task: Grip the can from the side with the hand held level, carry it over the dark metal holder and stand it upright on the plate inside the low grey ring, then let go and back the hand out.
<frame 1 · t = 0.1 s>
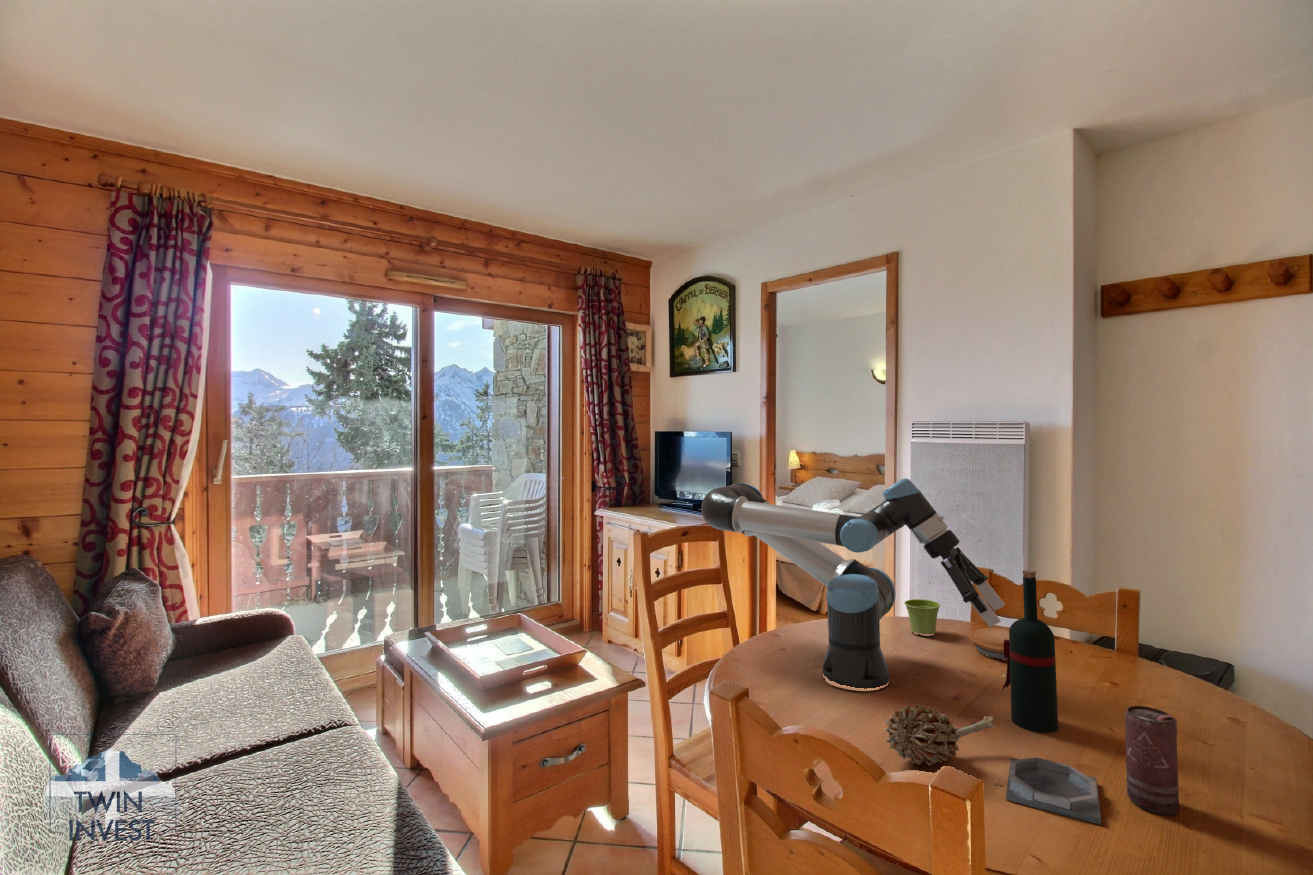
hand: (997, 615, 136), 15 cm above the table, tool tilted 35°, fingers open, 13 cm apart
wine bottle: (1028, 721, 119), on the table
plant pot: (923, 634, 170), on the table
cup holder: (1052, 791, 96), on the table
pine cone: (942, 758, 107), on the table
pie: (1002, 653, 154), on the table
can: (1153, 805, 92), on the table
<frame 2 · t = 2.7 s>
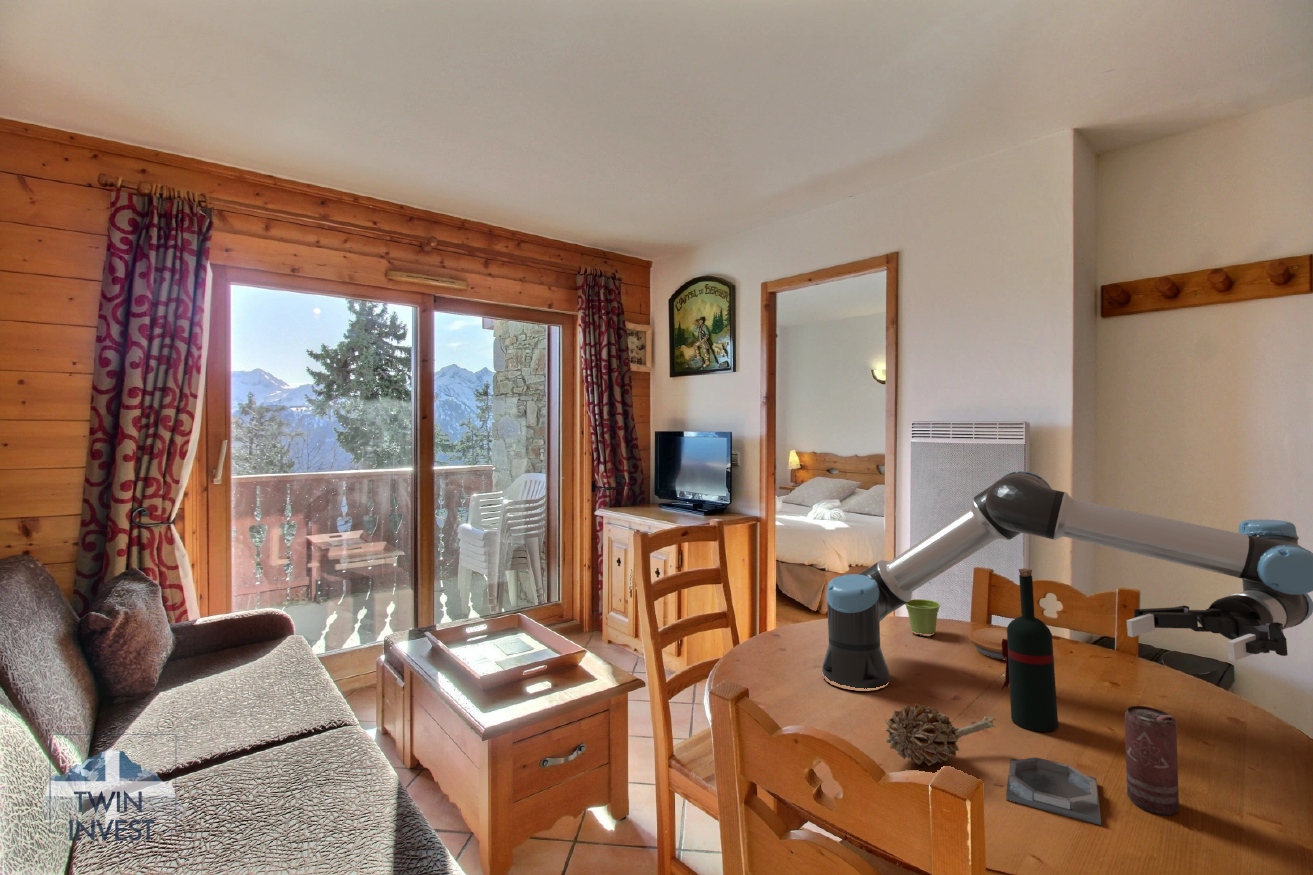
hand: (1176, 639, 96), 23 cm above the table, tool horizontal, fingers open, 13 cm apart
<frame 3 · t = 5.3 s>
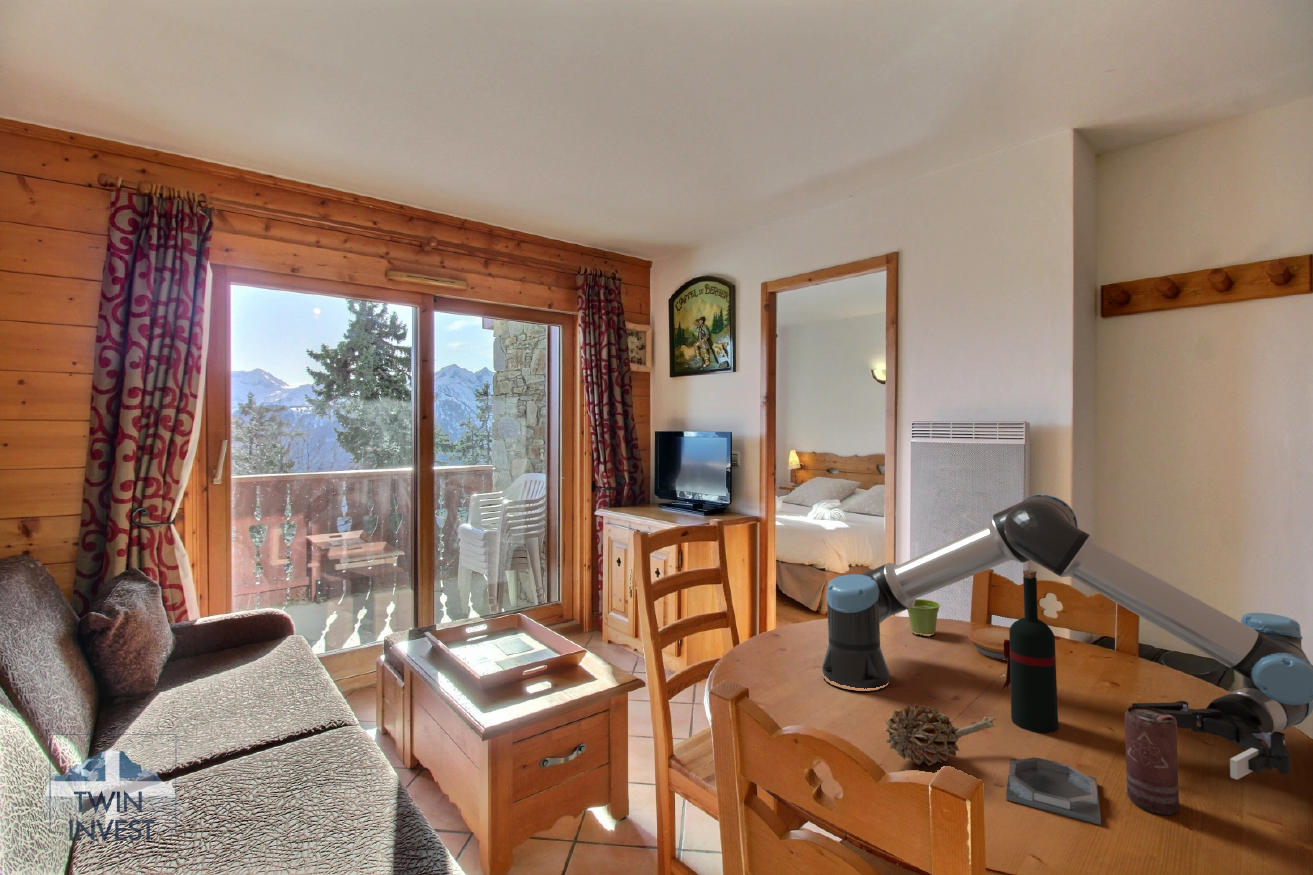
hand: (1177, 747, 94), 7 cm above the table, tool horizontal, fingers open, 13 cm apart
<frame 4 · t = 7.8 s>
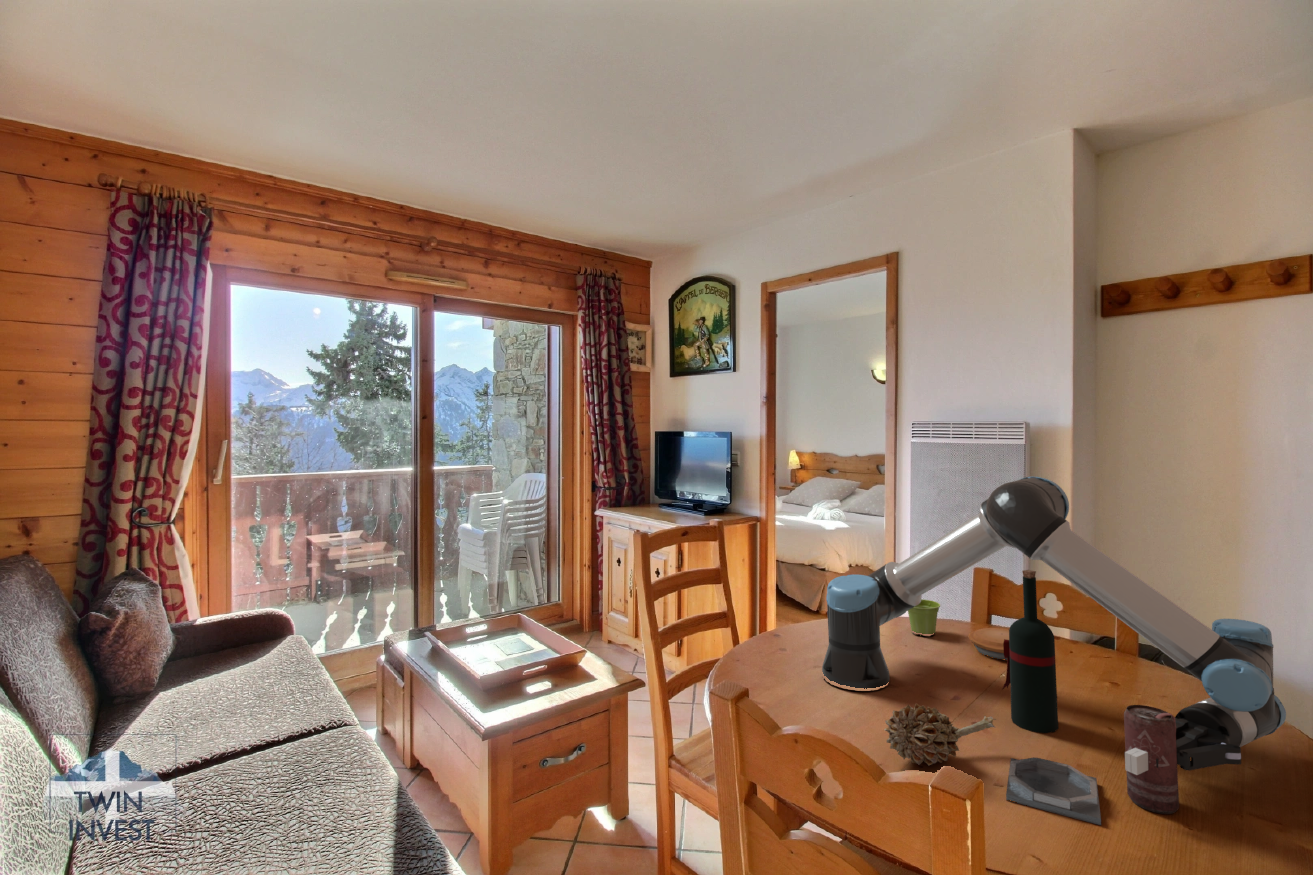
hand: (1130, 763, 90), 8 cm above the table, tool horizontal, fingers closed
can: (1154, 804, 92), on the table, touching gripper
everything else where it was.
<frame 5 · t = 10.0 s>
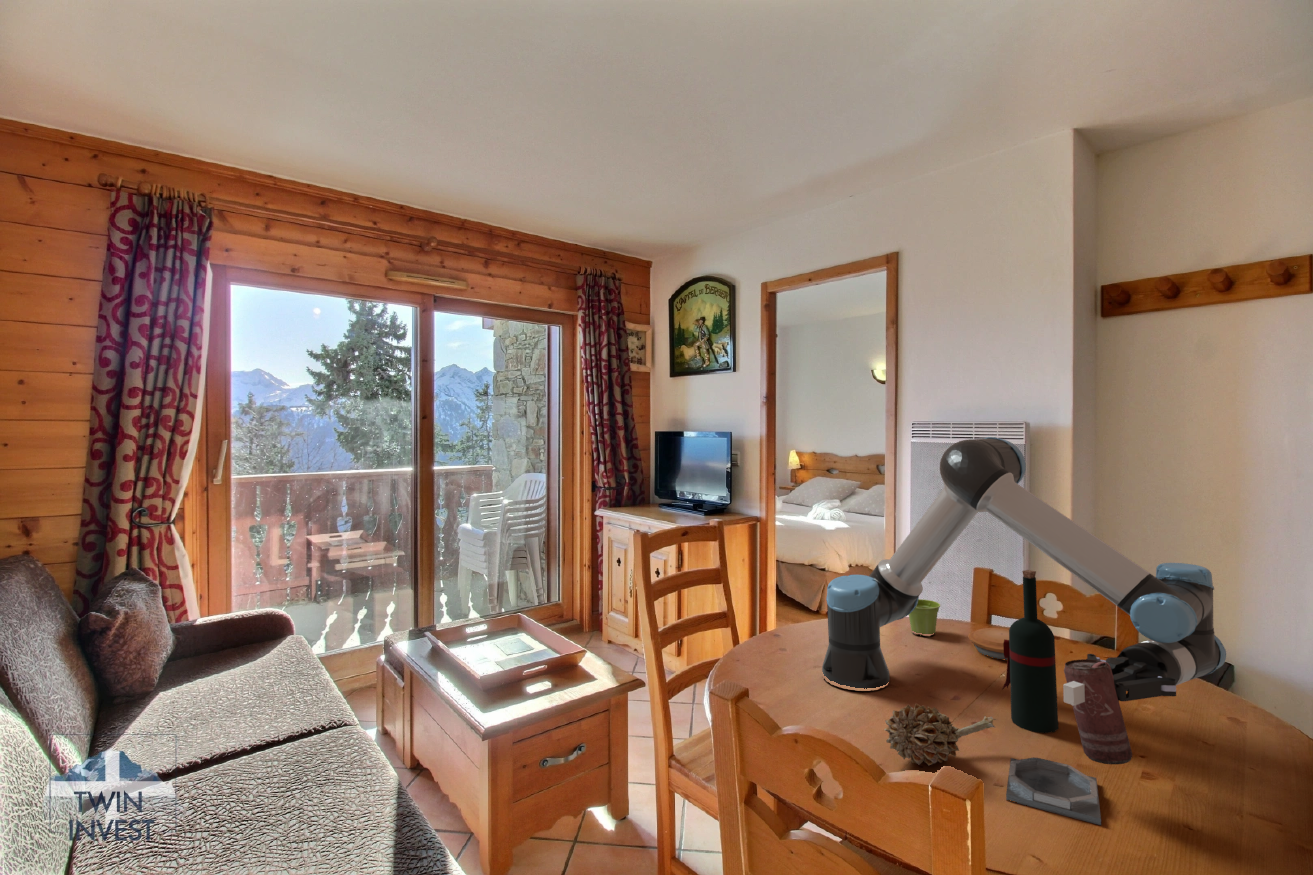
hand: (1068, 694, 91), 18 cm above the table, tool horizontal, fingers closed
can: (1110, 758, 92), point 7 cm above the table, touching gripper
everything else where it was.
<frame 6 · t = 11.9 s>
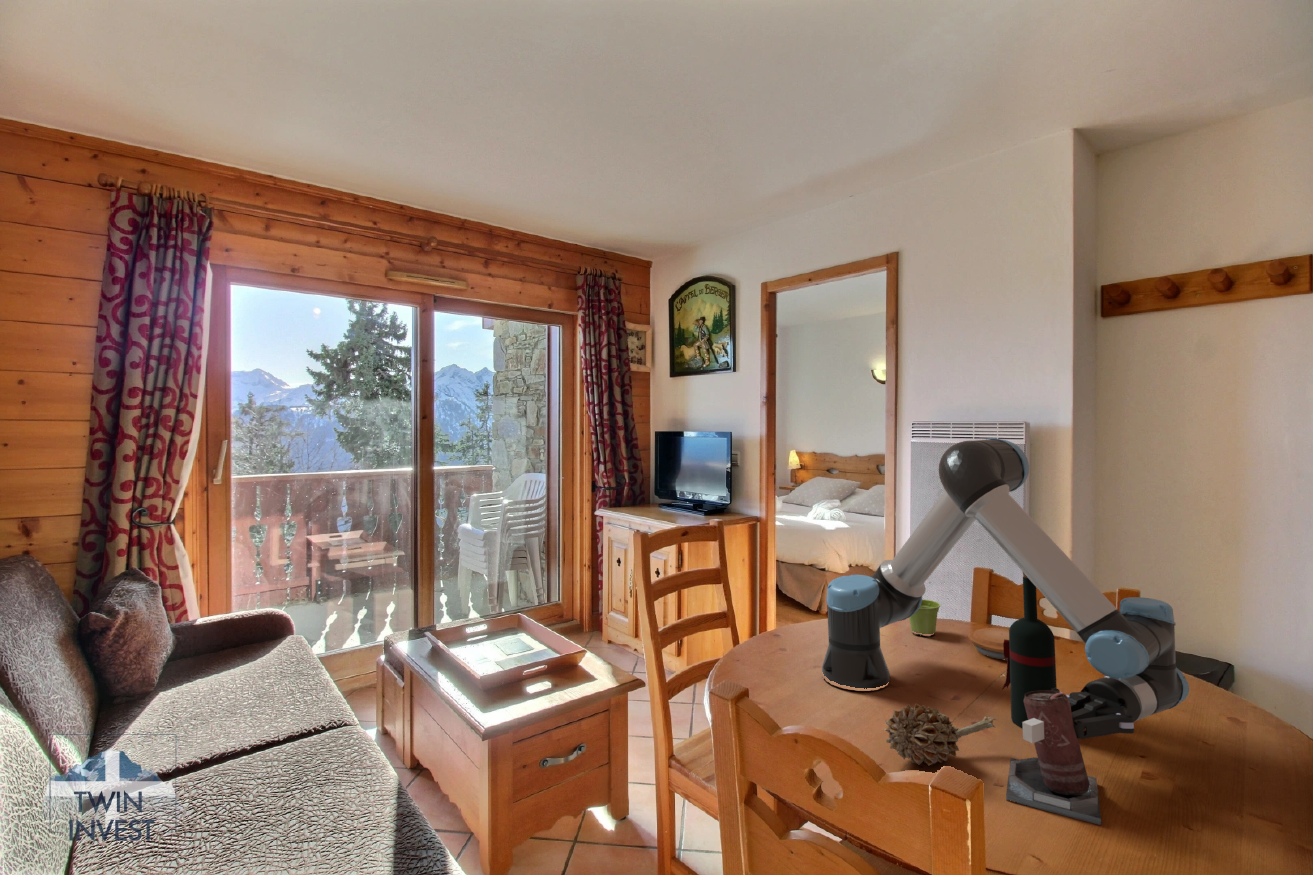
hand: (1027, 732, 93), 11 cm above the table, tool horizontal, fingers closed
can: (1068, 788, 94), point 1 cm above the table, touching cup holder
everything else where it was.
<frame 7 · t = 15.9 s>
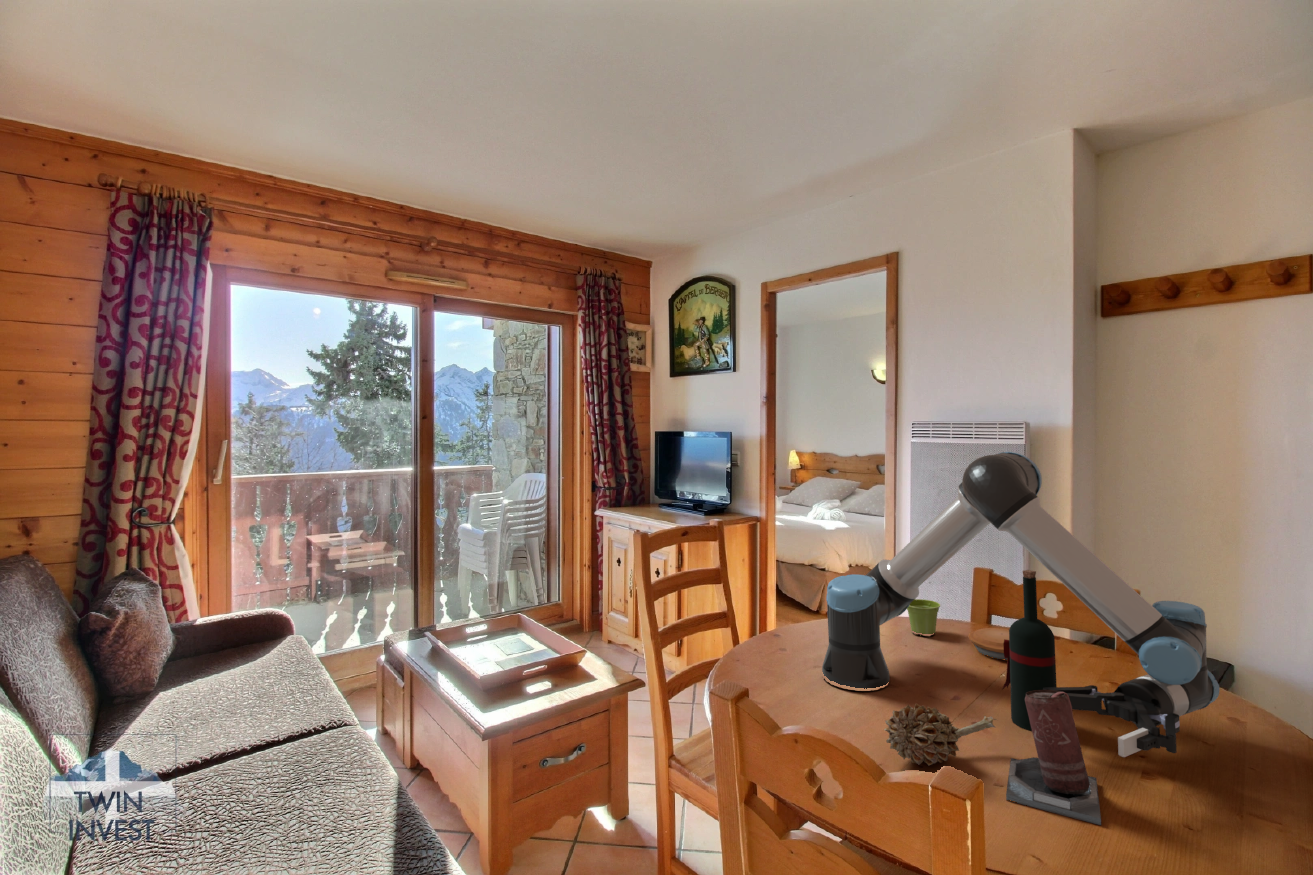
hand: (1074, 728, 98), 9 cm above the table, tool horizontal, fingers open, 13 cm apart
nothing on the table moved.
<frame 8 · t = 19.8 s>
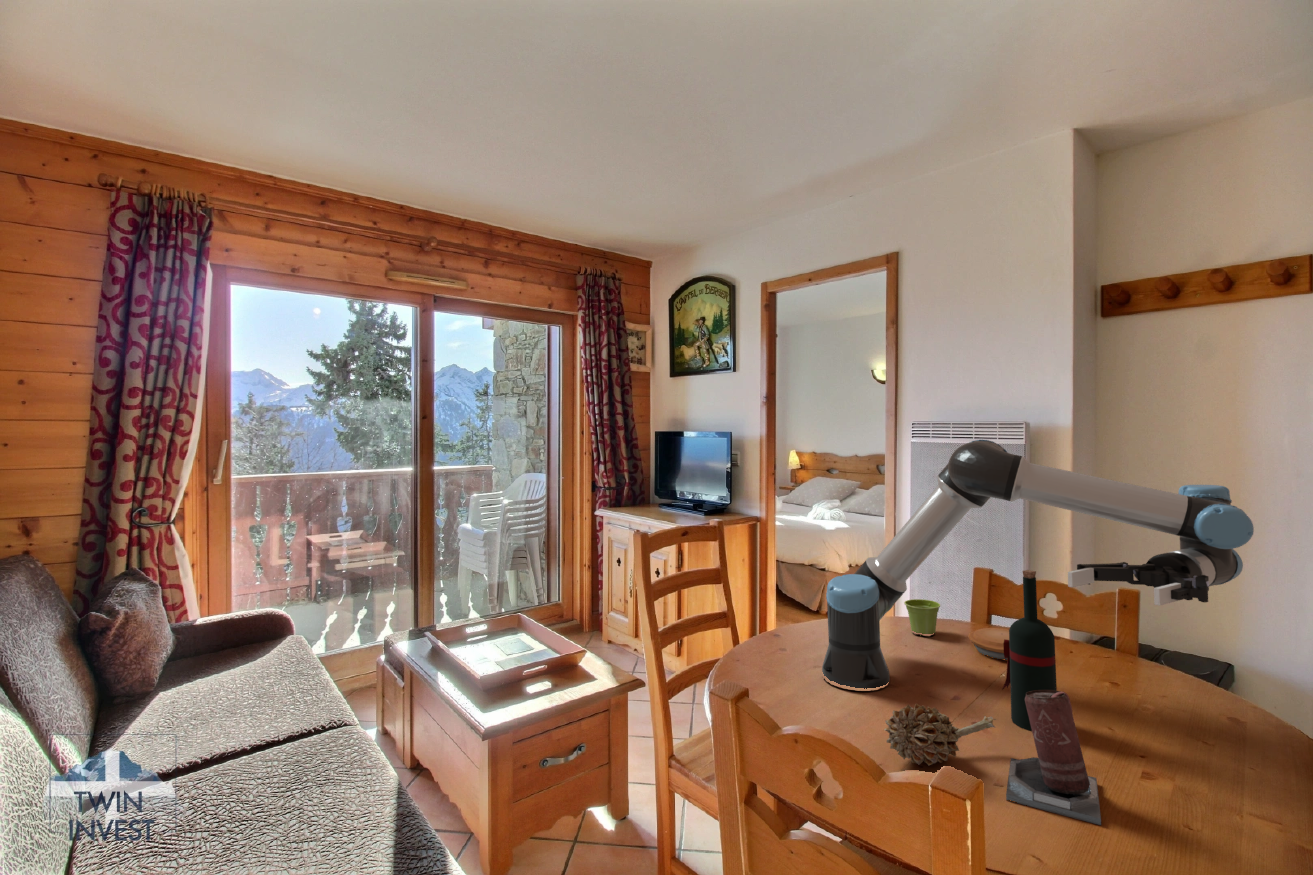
hand: (1110, 587, 104), 30 cm above the table, tool horizontal, fingers open, 13 cm apart
nothing on the table moved.
at the end: can 2.3 cm off-centre on the cup holder, point 1.5 cm above the cup holder's base; can tilted 13°; the gripper is holding nothing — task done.
